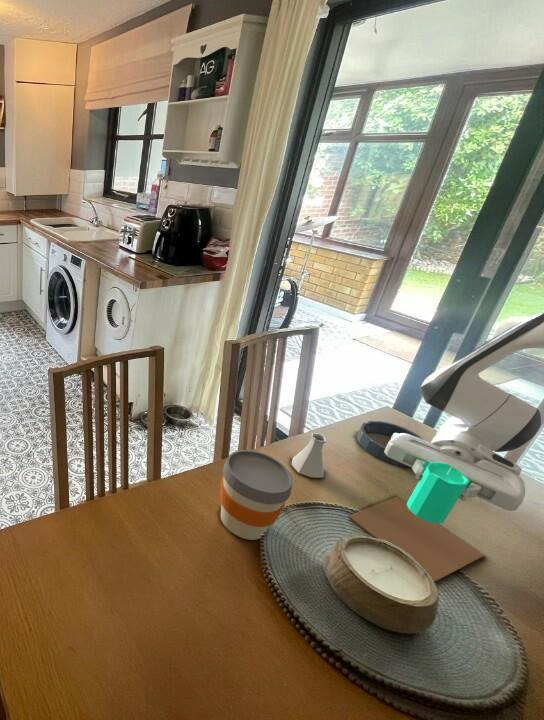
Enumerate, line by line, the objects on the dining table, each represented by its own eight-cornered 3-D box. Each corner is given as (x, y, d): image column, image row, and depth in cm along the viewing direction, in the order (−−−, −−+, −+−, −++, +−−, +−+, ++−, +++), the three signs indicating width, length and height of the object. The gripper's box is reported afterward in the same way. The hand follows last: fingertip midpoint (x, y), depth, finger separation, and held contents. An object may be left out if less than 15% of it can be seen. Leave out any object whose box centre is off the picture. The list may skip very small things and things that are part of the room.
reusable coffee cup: (242, 493, 97) (257, 443, 90) (289, 536, 86) (309, 483, 80) (199, 508, 93) (212, 457, 86) (242, 555, 82) (260, 501, 76)
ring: (437, 458, 107) (443, 448, 105) (401, 472, 102) (406, 462, 101) (379, 426, 119) (383, 416, 118) (344, 437, 115) (348, 427, 113)
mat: (483, 556, 82) (484, 555, 82) (432, 583, 77) (433, 581, 77) (396, 497, 95) (396, 496, 95) (348, 516, 91) (348, 515, 90)
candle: (406, 495, 87) (430, 451, 82) (444, 509, 84) (471, 465, 78) (406, 513, 83) (431, 468, 78) (446, 529, 80) (475, 483, 74)
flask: (295, 475, 102) (306, 443, 97) (287, 456, 108) (298, 425, 104) (328, 481, 100) (341, 449, 96) (318, 461, 106) (331, 430, 102)
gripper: (400, 420, 93) (381, 445, 86) (533, 472, 79) (525, 508, 71) (390, 441, 96) (370, 468, 88) (517, 495, 81) (506, 533, 74)
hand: (440, 486), depth 80 cm, fingers closed on candle, 5 cm apart
